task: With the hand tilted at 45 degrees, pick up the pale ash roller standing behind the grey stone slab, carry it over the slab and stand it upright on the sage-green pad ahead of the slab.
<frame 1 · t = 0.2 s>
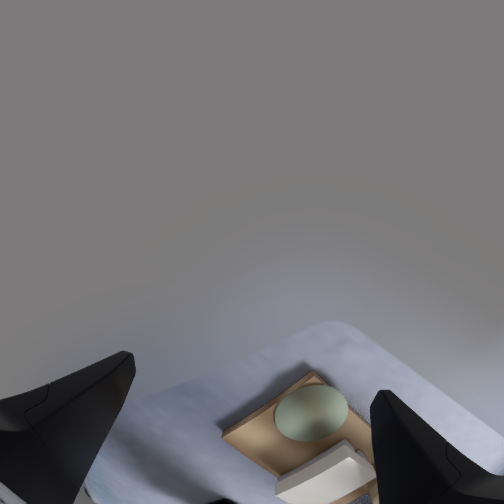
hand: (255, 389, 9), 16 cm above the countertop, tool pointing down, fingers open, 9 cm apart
slab: (321, 458, 25), resting on wooden board
wooden board: (328, 454, 25), on the countertop
roller: (381, 469, 23), point 1 cm above the countertop, touching wooden board
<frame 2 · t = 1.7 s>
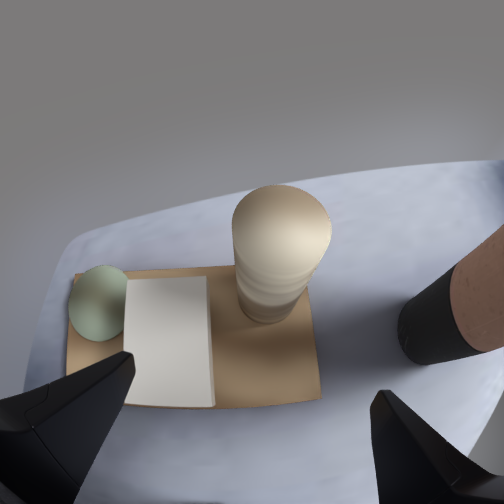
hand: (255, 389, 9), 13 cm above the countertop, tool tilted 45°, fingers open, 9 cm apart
travel mug: (424, 330, 23), on the countertop
slab: (181, 350, 22), resting on wooden board
wooden board: (180, 338, 22), on the countertop
roller: (267, 296, 23), point 1 cm above the countertop, touching wooden board
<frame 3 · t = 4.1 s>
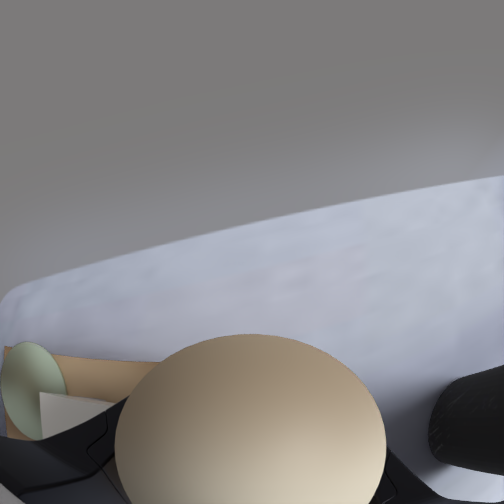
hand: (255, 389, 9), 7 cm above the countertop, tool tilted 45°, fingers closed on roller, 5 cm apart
travel mug: (460, 420, 13), on the countertop
slab: (132, 464, 12), resting on wooden board
wooden board: (131, 451, 12), on the countertop
roller: (247, 411, 13), point 1 cm above the countertop, touching gripper, wooden board
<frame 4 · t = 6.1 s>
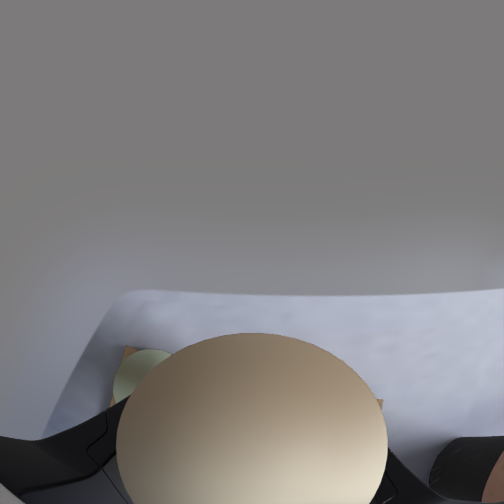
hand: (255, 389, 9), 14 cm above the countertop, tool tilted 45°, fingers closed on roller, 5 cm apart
travel mug: (452, 466, 15), on the countertop
wooden board: (237, 448, 18), on the countertop
roller: (248, 411, 13), point 8 cm above the countertop, touching gripper
when the fingers open (9 cm above the countertop, at t = 8.3 s): roller drops 1 cm, resting on wooden board.
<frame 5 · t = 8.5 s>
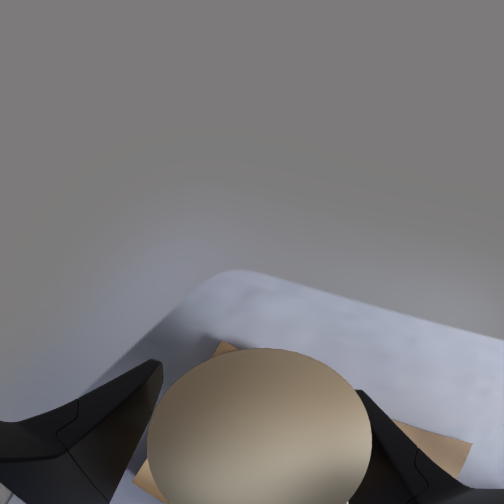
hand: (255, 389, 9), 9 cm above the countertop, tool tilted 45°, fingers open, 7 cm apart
wooden board: (325, 485, 13), on the countertop
roller: (248, 409, 14), point 2 cm above the countertop, touching wooden board
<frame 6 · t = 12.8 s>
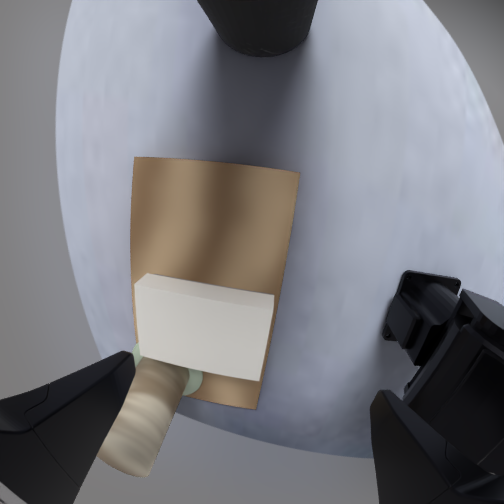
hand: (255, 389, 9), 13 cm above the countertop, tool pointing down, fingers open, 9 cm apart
travel mug: (263, 22, 16), on the countertop
slab: (214, 302, 22), resting on wooden board
wooden board: (202, 299, 23), on the countertop
roller: (165, 369, 24), point 1 cm above the countertop, touching wooden board
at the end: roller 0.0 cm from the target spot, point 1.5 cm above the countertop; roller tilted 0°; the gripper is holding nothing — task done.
